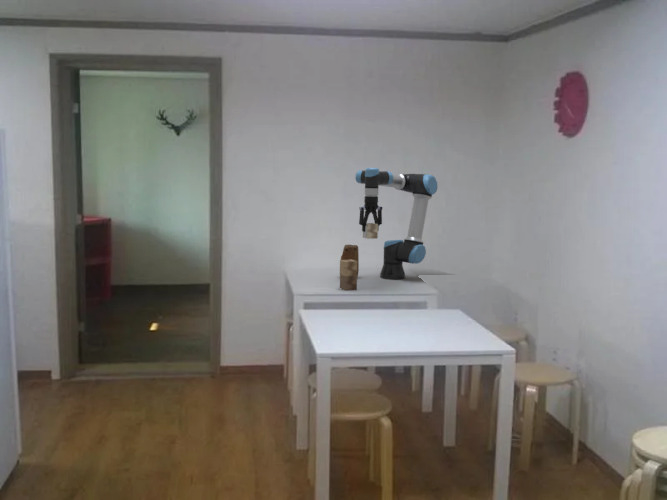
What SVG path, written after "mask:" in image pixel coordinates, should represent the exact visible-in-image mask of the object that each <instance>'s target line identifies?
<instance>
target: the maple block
mask: <svg viewBox="0 0 667 500" xmlns="http://www.w3.org/2000/svg"><path fill="white" fill-rule="evenodd" d="M366 226H367V238H366V239H367V240H369V239H371V240H373V239H375V240H376V239H378V237H379V236H378V235H379V234H378V233H379V230H378V224H375V222H374V223H373V222H367V223H366ZM362 238H363V239H365V238H364V237H363V236H362Z"/></svg>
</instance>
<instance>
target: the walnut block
mask: <svg viewBox="0 0 667 500" xmlns="http://www.w3.org/2000/svg"><path fill="white" fill-rule="evenodd" d="M357 283H358V277H357V276H343V275H340V274H339V289H340V288H341V289H340V290H344V291H357V289H358V288H357V287H358V284H357Z"/></svg>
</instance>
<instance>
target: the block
mask: <svg viewBox="0 0 667 500" xmlns="http://www.w3.org/2000/svg"><path fill="white" fill-rule="evenodd" d="M340 260H355V261H357V278H358V277H359V266H360V265H359V263H360V262H359V245H356V244H345V245H344V246H343V249H342V254H341V256H340Z"/></svg>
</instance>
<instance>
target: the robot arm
mask: <svg viewBox="0 0 667 500" xmlns="http://www.w3.org/2000/svg"><path fill="white" fill-rule="evenodd" d="M379 169H380V168H378V167H366V168H365V169H363V170H358V171H357V172H356V174H355V177H354V179H355V181H356V183H358V184H361V185H364V205H363V206H359V220H358V221H359V222H358V225H360V226H361V232H362V238H363V237H364V238H363V239H367V226H366V223H368V220H369V216H370V214H372V218H373V220H374V223H375V224H378V231H379V226H381V225H382V224H383V215H382V213H383V212H382V211H383V206H380V205H378V203H379V186H380V187H387V188H394V189H395V190H398V191H402V192H406V193H410V194H412V197H413V202H412V203H413V204H412V208H411V215H410V219H409V220H410V221H409V224H408V225H409V226H408V231H407V236H406V238H403V239H392V240H386V241H384V245H383V265H382V268H381V271H380V275H379V277H380V278H381V279H386V280H387V279H388V280H403V279H405V277H406V273H405V269H404V266H403V263H407V264H408V263H409V264H414V265H415V264H420V263H421V262H423V261H424V259H425V257H426V254H427V253H426V252H427V249H426V247H425V245H424V241H423V240H422V237H423V234H424V233H423V232H424V227H425V222H426V216H427V210H428V204H429V201H430V200H431V199H432V197H433V195H435V194H436V193H437V192H438V181H437V179H436V177H435V176H434V175H433V174H428V173H397V174H393V173H392V172H391V171H387V170H385V171H384V170H383V171H381V170H379Z"/></svg>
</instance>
